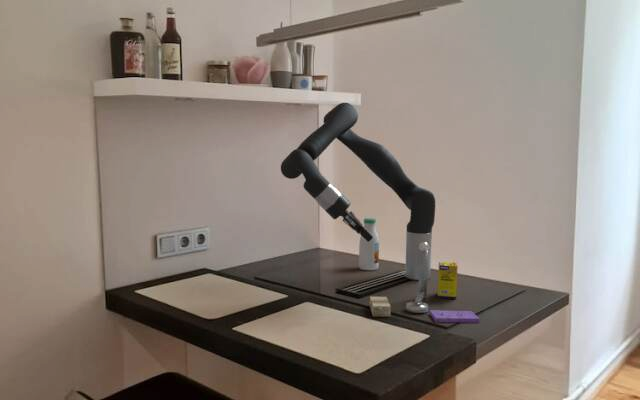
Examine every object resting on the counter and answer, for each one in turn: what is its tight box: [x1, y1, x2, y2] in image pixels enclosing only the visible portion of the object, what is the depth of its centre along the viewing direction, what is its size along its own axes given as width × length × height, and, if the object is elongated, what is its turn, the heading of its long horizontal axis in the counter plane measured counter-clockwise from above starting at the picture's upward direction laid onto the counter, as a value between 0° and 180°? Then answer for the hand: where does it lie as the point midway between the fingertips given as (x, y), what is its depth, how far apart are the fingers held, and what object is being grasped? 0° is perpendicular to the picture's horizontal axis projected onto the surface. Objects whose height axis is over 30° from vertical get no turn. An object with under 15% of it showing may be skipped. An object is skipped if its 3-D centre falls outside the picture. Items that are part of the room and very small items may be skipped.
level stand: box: [369, 296, 392, 318], centre depth 164 cm, size 11×5×3 cm, turn 1°
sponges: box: [429, 309, 481, 324], centre depth 160 cm, size 7×13×2 cm, turn 91°
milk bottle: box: [358, 217, 380, 271], centre depth 219 cm, size 8×8×20 cm
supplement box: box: [436, 261, 458, 300], centre depth 182 cm, size 6×6×11 cm
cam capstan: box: [405, 242, 429, 314], centre depth 171 cm, size 18×6×18 cm, turn 163°
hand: (370, 239), depth 177 cm, fingers closed
